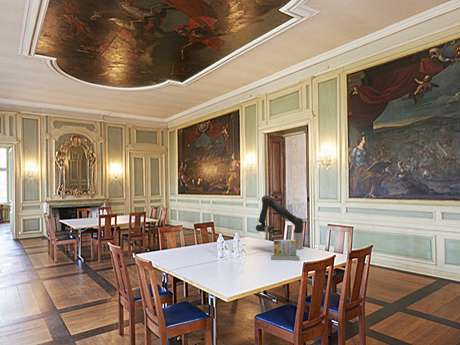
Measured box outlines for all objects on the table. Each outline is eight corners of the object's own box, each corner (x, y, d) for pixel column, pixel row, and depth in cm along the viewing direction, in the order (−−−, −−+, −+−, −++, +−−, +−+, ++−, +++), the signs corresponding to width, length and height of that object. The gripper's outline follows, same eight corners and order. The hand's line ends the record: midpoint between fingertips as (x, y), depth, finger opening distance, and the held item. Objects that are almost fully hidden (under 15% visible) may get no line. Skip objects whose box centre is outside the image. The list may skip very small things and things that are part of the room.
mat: (271, 256, 311) (271, 255, 311) (298, 256, 307) (298, 256, 307) (271, 259, 295) (271, 259, 295) (299, 260, 291) (299, 260, 291)
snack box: (295, 255, 314) (295, 239, 315) (296, 256, 309) (296, 240, 309) (273, 254, 316) (273, 239, 317) (274, 256, 311) (273, 240, 312)
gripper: (264, 226, 333) (275, 228, 318) (274, 225, 340) (285, 227, 325) (265, 233, 332) (275, 235, 318) (274, 232, 339) (285, 234, 324)
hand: (280, 231), depth 321 cm, fingers closed
